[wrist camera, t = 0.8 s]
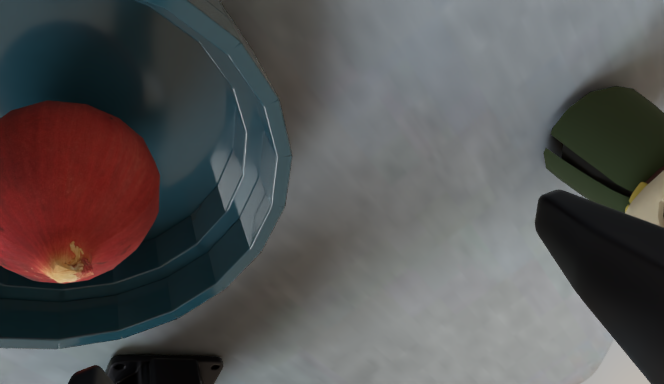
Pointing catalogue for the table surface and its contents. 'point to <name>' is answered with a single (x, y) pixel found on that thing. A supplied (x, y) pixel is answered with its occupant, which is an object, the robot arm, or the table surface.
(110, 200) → the onion
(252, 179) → the bowl
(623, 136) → the character mug
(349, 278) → the table surface
